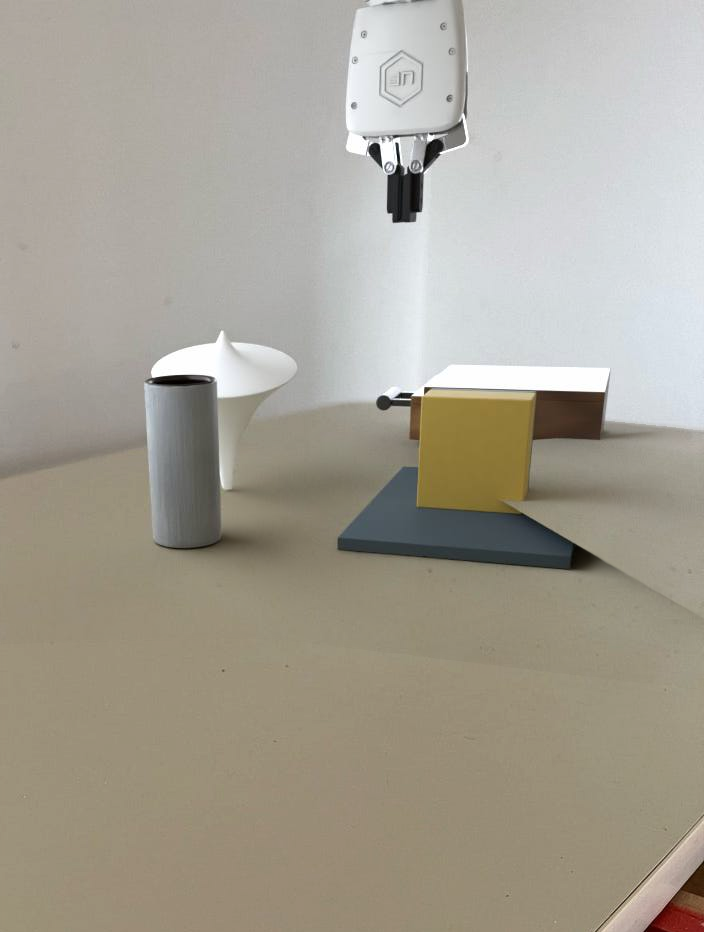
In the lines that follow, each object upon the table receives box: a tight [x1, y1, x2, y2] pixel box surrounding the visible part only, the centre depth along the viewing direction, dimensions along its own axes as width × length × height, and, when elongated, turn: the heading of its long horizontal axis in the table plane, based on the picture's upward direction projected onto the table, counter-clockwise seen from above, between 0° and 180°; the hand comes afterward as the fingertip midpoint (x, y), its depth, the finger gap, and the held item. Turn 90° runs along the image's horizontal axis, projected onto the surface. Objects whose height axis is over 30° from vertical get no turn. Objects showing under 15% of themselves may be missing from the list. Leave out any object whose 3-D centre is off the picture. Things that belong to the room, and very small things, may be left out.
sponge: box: [417, 388, 537, 514], centre depth 69 cm, size 7×4×8 cm, turn 69°
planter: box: [143, 374, 222, 549], centre depth 66 cm, size 4×4×10 cm
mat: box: [336, 465, 576, 570], centre depth 71 cm, size 20×14×1 cm
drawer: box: [375, 374, 439, 441], centre depth 93 cm, size 17×12×4 cm
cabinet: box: [424, 364, 612, 441], centre depth 92 cm, size 15×14×6 cm
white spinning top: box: [151, 330, 298, 491], centre depth 77 cm, size 10×11×12 cm
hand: (404, 221), depth 94 cm, fingers closed
